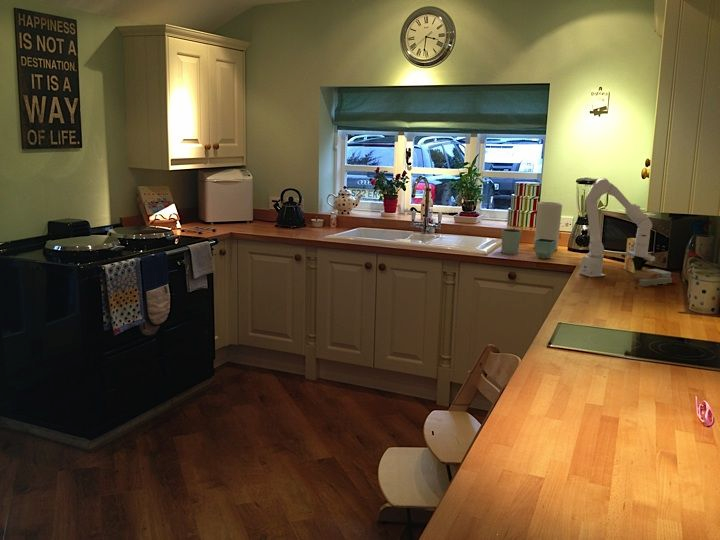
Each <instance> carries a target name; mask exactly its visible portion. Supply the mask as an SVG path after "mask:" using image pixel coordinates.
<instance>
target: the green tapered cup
mask: <svg viewBox="0 0 720 540" xmlns="http://www.w3.org/2000/svg"><path fill="white" fill-rule="evenodd" d="M521 238H522V230H521V229H518V228H517V229H516V228H502V229H501V253H502V254H505V253H506V254H505V255H518V254H517V253H519V249H520V241H521Z"/></svg>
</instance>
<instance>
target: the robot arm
mask: <svg viewBox="0 0 720 540" xmlns="http://www.w3.org/2000/svg"><path fill="white" fill-rule="evenodd" d="M605 194H607V195H609V196H612V197H614V198H615V199H616V200H617V201H618V202H619V204H621V206H622V207H624V208H625V210H624V211H625V214H626V216H627V217H629V219H631V221H632V222H633V223H634V224H636V226H637V229H636V234H635V239H636V240H635V248H634V251H630V250H629V251H626V250H625V256H626V255H631V256H634V258H632V261H633V263H634V267H635V270H643V268H644V266H645V265H646V263H647V262H648V261H649V262H655V261H656V256H653V255H651V254H649V252H648V251H649V244H650V237H651V230H652V228H653V222H652V221H651V219H650V217H648V214H647V213H645V212H643V210H641V206H640V205H639V204H637V203H636V204H635V203H631V202H630V201H629V200H628V199H627V198H626V196H625V195H624V194H623V193H622V191H620V189H619V188H618V187H617V186H616V185H614V184H613V183H612V182H610V181H609V180H608V179H607V178H605V177H600V178H598V179H597V180H595V181H594V182H593V183H592V185H591V187H590V189H589V191H588V193H587V194H586V197H585V199H586V210H587V212H586V213H587V220H588V228H589V243H588V249H589V252H587V255H586V256H584V257H582V258H581V261H580V268H579V271H578V274H580V275H584V276H587V277H589V278H593V277H595V278H596V277H605V276H606V275H607V274H606V273H605V274H604V273H602V271H603V266H604V265H603V264H604V253H605V248H604V244H603V242H602V240H601V239H602V238H601V230H600V220H599V219H600V218H599V210H598V209H599V208H598V200H599V199H600V198H601V197H602V196H603V195H605Z"/></svg>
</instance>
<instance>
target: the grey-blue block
mask: <svg viewBox="0 0 720 540" xmlns="http://www.w3.org/2000/svg"><path fill="white" fill-rule="evenodd" d="M647 270H648V271H651V272H655V273H659V276H658V278H662V277H670V278H672V272H671V271H667V270H663V269H659V268H650V269H647Z"/></svg>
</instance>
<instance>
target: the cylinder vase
mask: <svg viewBox="0 0 720 540" xmlns="http://www.w3.org/2000/svg"><path fill="white" fill-rule="evenodd" d="M536 211H537V213H536V219H535V220H536V221H535V232H534V240H533V248H534V249H535V240H537V239H539V238H541V239H549V240H556V245H555V249H554V252H555V251H557V250H558V245H559V237H560V229H561V220H562V219H561V218H562V211H563V203H560V202H553V201H538V203H537V210H536Z"/></svg>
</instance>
